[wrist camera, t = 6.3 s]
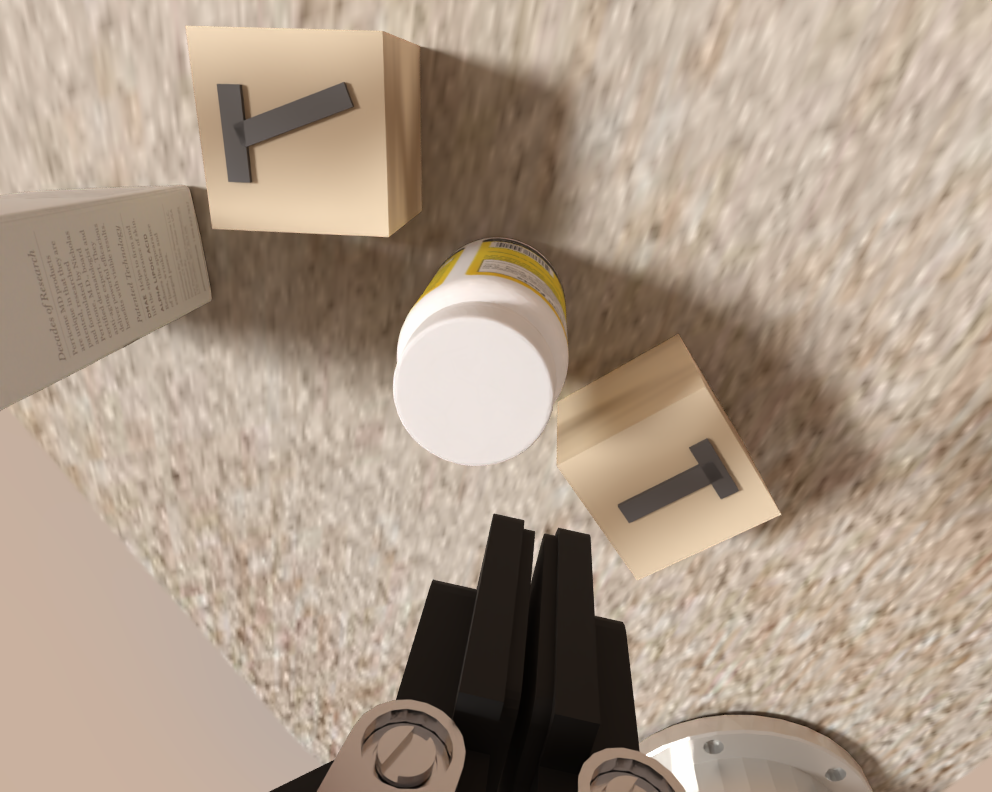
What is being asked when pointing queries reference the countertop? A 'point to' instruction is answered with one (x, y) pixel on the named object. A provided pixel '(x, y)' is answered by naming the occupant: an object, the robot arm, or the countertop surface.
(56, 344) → the skincare box
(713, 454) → the digit block one
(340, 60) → the digit block seven
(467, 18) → the countertop surface
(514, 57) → the countertop surface
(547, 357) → the supplement bottle
